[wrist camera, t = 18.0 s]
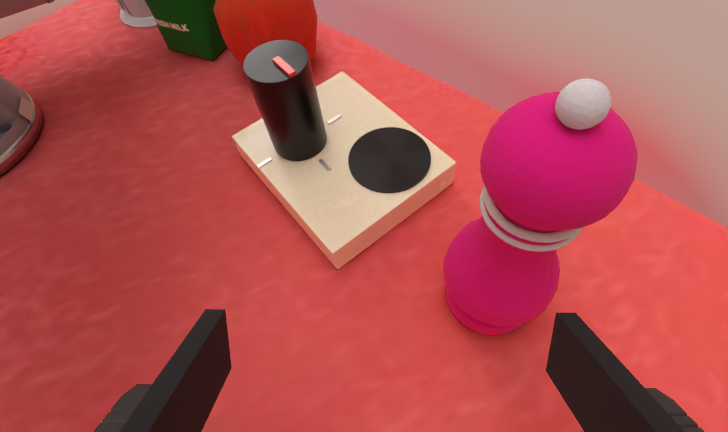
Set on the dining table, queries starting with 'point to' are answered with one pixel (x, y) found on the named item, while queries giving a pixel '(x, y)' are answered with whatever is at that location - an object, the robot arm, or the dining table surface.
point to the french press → (136, 13)
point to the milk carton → (189, 26)
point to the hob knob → (287, 98)
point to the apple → (265, 23)
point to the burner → (389, 160)
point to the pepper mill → (537, 203)
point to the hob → (341, 174)
